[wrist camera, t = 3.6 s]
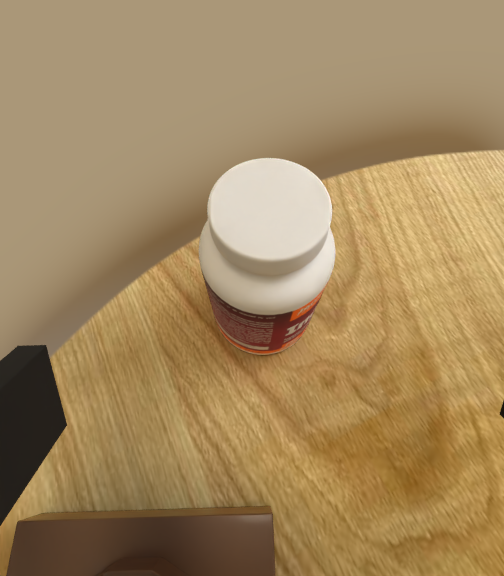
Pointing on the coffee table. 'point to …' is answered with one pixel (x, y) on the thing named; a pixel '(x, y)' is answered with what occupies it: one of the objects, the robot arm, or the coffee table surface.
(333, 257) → the pill bottle
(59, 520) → the control
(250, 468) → the coffee table surface
